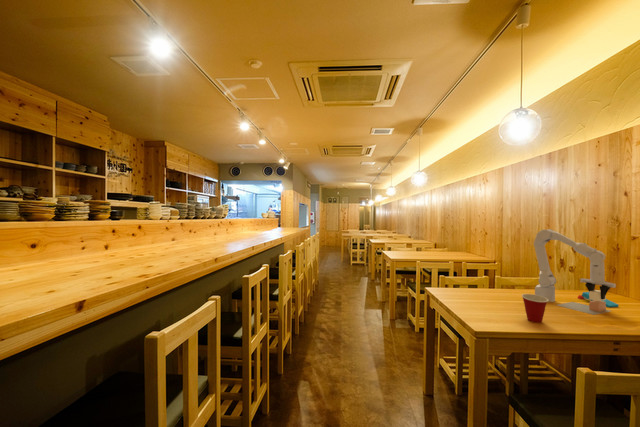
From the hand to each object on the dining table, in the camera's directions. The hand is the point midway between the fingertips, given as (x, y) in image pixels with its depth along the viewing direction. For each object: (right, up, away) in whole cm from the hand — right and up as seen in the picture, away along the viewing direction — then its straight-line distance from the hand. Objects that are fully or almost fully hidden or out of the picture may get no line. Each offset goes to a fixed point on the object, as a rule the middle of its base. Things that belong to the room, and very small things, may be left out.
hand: (597, 297), depth 158 cm
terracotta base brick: (0, -7, 0) cm, 6 cm away
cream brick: (0, -1, 0) cm, 1 cm away
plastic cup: (-46, -7, -15) cm, 49 cm away
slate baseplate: (-5, -7, +3) cm, 10 cm away
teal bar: (+12, -8, +14) cm, 20 cm away
